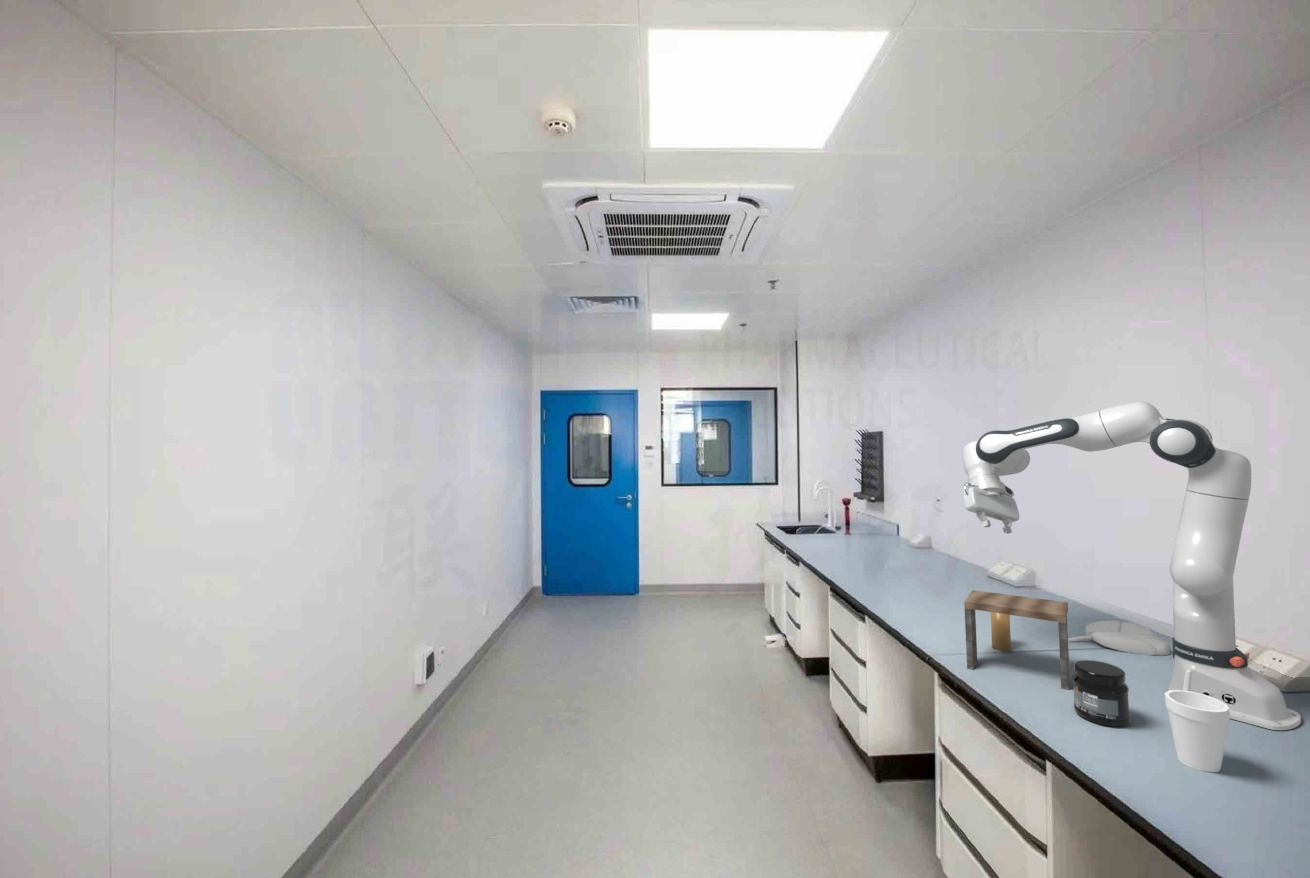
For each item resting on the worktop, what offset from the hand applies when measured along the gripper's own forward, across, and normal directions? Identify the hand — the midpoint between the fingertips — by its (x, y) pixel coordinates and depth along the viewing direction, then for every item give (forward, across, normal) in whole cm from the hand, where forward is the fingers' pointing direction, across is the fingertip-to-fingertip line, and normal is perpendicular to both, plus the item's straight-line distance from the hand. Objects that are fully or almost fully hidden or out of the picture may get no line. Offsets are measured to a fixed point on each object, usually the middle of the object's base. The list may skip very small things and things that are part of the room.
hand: (997, 529), depth 164 cm
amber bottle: (+29, +20, +22) cm, 42 cm away
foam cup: (+60, 0, -28) cm, 66 cm away
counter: (+38, +10, +12) cm, 41 cm away
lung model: (+27, +52, +6) cm, 59 cm away
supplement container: (+51, +2, -11) cm, 52 cm away
